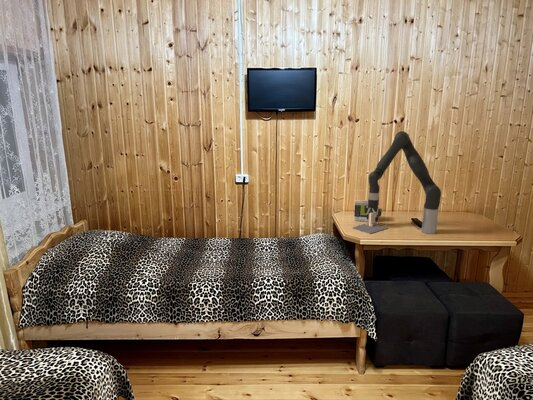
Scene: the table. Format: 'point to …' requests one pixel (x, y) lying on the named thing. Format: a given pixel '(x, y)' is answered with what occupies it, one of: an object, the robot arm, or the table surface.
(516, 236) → the table surface
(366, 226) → the mat
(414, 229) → the table surface
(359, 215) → the tea box
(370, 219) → the tile
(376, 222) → the slot stand
